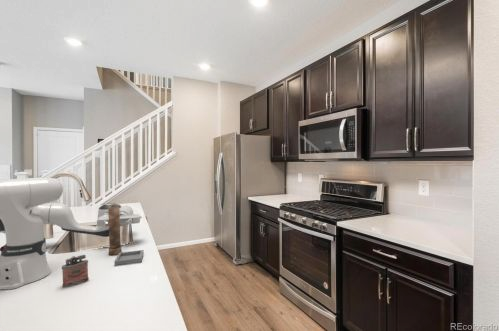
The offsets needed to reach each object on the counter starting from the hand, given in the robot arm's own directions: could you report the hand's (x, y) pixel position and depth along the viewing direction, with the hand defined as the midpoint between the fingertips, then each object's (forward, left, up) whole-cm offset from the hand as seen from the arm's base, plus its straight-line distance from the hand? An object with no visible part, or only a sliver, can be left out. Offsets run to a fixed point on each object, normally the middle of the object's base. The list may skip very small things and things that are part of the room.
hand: (116, 223), depth 125 cm
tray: (+8, -15, -13) cm, 22 cm away
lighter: (-8, -32, -14) cm, 36 cm away
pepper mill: (0, -4, -13) cm, 14 cm away
